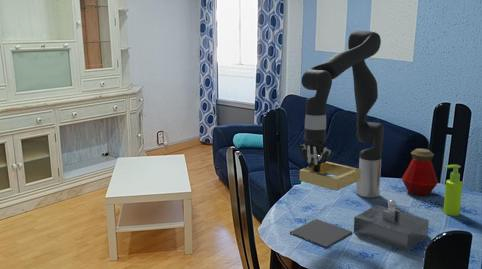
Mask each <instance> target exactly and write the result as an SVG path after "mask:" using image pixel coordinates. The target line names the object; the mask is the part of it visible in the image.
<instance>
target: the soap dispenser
mask: <svg viewBox="0 0 482 269" xmlns="http://www.w3.org/2000/svg"><path fill="white" fill-rule="evenodd" d="M444 167H445V168H447V169H453V170H452V171H451V172H450V175H449V179H447V180H446V181H445V190H444V200H443V211H442V213H443V214H445V215H448V216H452V217H453V216H454V217H458V216H460V214H461V204H462V197H463V196H462V194H463V184H464V183H463V181H460V179H461V178H460V177H461V174H460V173H459V168H461V167H462V166H461V165H459V164H448V165H445V166H444Z"/></svg>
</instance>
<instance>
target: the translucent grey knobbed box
mask: <svg viewBox="0 0 482 269" xmlns="http://www.w3.org/2000/svg"><path fill="white" fill-rule="evenodd" d="M387 206H388V207H385V206H382V205H378V204H375V205H374V206H372V207H370V208H369V209H367V210H365V211H363V212H361V213H359V214H357V215H356V216H353V217H354V218H353V219H354V220H353V233H355V234H357V235H360V236H363V237H366V238H369V239H372V240H375V241H377V242H380V243H382V244H386V245H388V246H391V247H394V248H396V249H400V250H403V251H405V252H407V251H409V250H410V249H411V248H413V247H414V246H416V245H417V244H418V243H420V242H421V241H422V240H424V239H425V238H427V236H429V234H428V232H429V224H430V223H429V222H430V219H427V218H424V217H419V216H417V215H414V214H410V213H406V212H403V211H401V210H400V209H397V202H396V200H394V199H389V200H388V201H387Z"/></svg>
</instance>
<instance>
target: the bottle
mask: <svg viewBox="0 0 482 269" xmlns="http://www.w3.org/2000/svg"><path fill="white" fill-rule="evenodd" d="M410 155H411V158H412V159H411V161H410V163H409V165H408V167H407V168H406V170H405V172H404V173H403V176H402V177H401V181H402V182H403V184H404V187H405V189H406V190H407V192H408V193H409V194H411V195H414V196H417V197H418V196H419V197H428V196H430V195H431V193H432V191H433V190H434V189H435V187H436V186H437V185H438V183H439V180H438V177H437V174H436V171H435V168H434V165H433V162H432V159H433V157H434V155H435V154H434V153H433V152H432V151H431V150H429V149H426V148H415V149H414V150H412V151H411V152H410Z"/></svg>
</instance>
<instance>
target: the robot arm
mask: <svg viewBox="0 0 482 269" xmlns="http://www.w3.org/2000/svg"><path fill="white" fill-rule="evenodd" d="M348 36H349V37H348V41H347V45H348V46H347V47H348V49H346V50H344V51H343V50H342V51H340V52H338V53H335V54H334V55H332V56H330V58H328V59H326V60H325V61H324V62H322V63H319V64H316V65H315V66H311V67H310V68H309V69H307V70H305V72H303V74H302V76H301V85H302V87H303V88H304V89H306V90H308V91H316V93H315V95H314V96H311V97H308V98H306V102H305V116H304V140H305V141H304V143H303V144H300V145H299V146H298V150H299V151H300V154H301V156H302V159H303V161H305V162H307V165H308V166H307V167H309V166H312V165H314V172H317V173H320V165H321V164H323V163H325V162H328V161H327V160H328V159H329V157H330V156H331V154H332V152H333V151H332V149H328V148H327V145H326V139H327V101H328V98H329V94H330V91H331V88H332V85H333V80H335V79H336V78H338V77H339V76H341V75H342V74H343V73H344V72H345V71H347V70H348V69H352V70H351V71H352V77H353V92H354V99H355V110H356V135H357V136H356V137H357V140H358V142H360V143H365V144H373V146H372V147H370V148H366V149H365V148H364V149H362V150H360V152H359V162H358V164H359V165H358V169H361V180H360V181H357V182H356V187H355V188H356V189H355V194H357V195H358V196H360V197H363V198H369V199H373V198H374V199H375V198H379V196H380V189H381V188H380V186H381V173H382V172H381V170H382V169H381V168H382V153H383V143H384V142H383V141H384V133H385V132H384V130H385V127H384V125H383V123H381V122H372V121H367V120H366V118H367V115H368V114H369V112H370V110H371V109H372V108H373V106H374V105H375V104H376V102H377V100H378V97H379V96H378V92H379V91H378V82H377V79H376V77H375V76H374V74H373V73H372V71H371V70H370V68H369V67H368V65H367V63H366V61H365V60H367V59H368V58H369V59H370V57H373V56H374V55H376V54H377V53H378V52H379V50H380V48H381V44H382V43H381V42H382V40H381V36H380V34H379V33H378V32H376V31H375V32H374V31H372V30H371V31H368V30H353V31H352V32H350V35H348Z"/></svg>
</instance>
